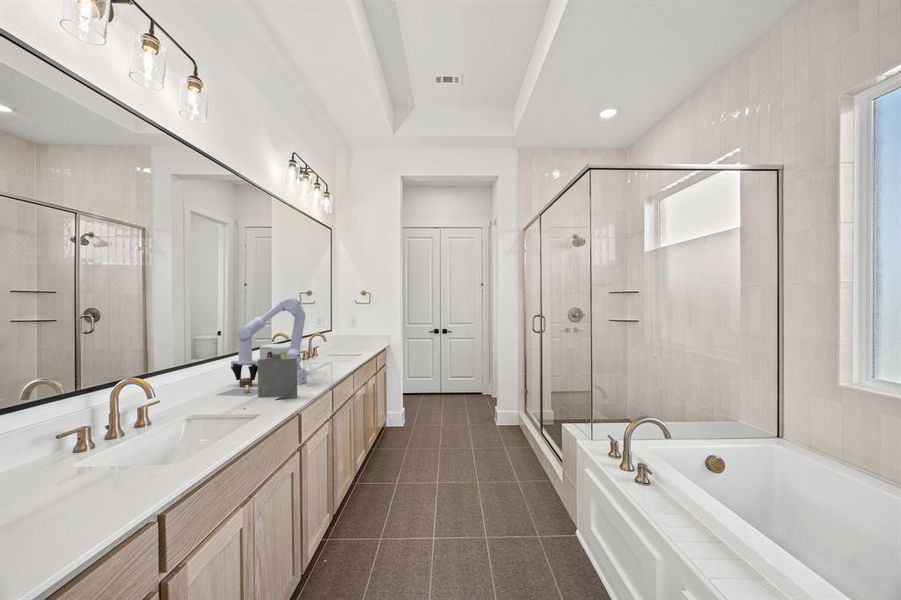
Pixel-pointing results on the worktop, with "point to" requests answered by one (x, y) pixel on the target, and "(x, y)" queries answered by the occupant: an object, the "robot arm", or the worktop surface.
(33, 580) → the worktop surface
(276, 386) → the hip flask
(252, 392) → the board
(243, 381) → the cap
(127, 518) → the worktop surface
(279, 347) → the supplement box
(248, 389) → the post
